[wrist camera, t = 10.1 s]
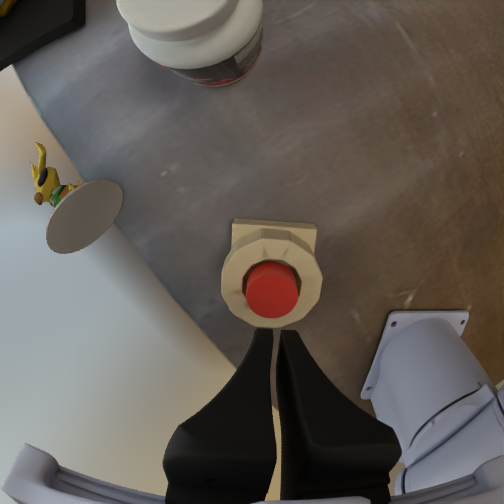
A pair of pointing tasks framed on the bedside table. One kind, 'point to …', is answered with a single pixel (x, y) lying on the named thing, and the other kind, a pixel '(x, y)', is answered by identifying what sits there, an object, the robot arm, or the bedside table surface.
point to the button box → (271, 250)
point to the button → (271, 290)
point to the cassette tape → (35, 25)
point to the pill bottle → (198, 36)
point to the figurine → (75, 207)
